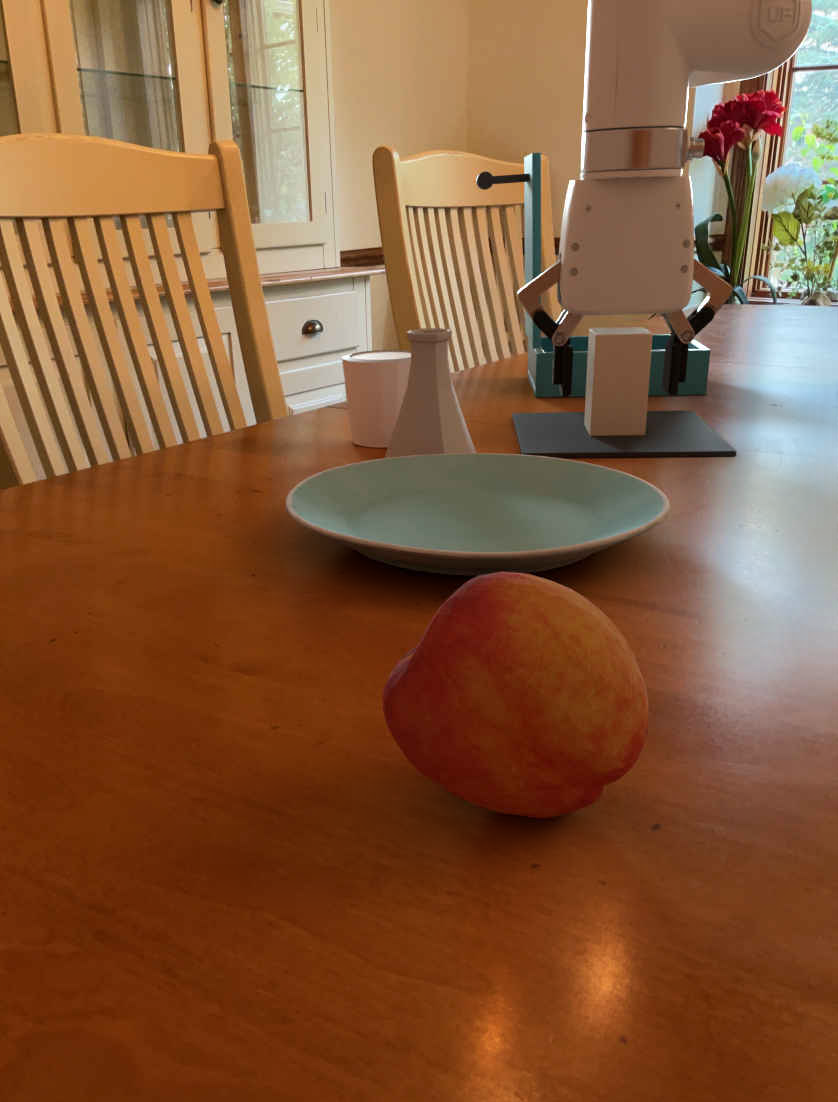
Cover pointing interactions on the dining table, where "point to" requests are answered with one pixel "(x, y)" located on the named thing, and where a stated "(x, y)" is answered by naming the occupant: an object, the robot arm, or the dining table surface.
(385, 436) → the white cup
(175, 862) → the dining table surface
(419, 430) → the flask
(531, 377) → the box
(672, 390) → the robot arm
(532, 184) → the lunchbox lid
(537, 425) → the mat
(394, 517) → the plate
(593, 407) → the beige rectangular block
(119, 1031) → the dining table surface
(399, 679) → the fruit
